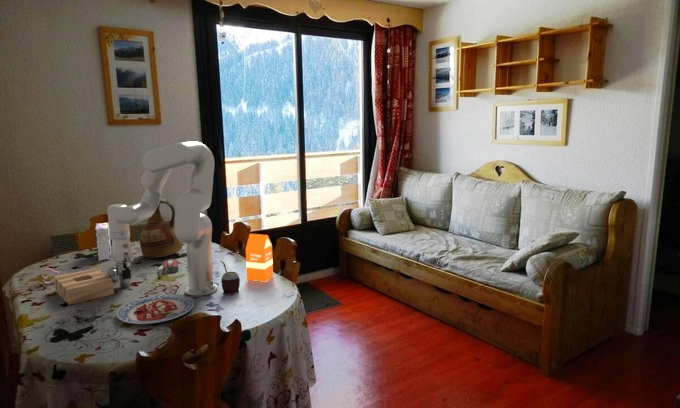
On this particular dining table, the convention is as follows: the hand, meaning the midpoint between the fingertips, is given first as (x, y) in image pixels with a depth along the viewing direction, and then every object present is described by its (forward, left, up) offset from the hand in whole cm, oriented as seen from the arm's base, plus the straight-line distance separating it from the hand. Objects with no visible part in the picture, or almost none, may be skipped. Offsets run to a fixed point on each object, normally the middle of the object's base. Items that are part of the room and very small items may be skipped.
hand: (124, 276), depth 191 cm
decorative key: (+25, +15, -5) cm, 29 cm away
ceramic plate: (-35, +1, -5) cm, 35 cm away
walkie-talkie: (+7, -22, -5) cm, 23 cm away
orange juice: (-31, -46, -5) cm, 56 cm away
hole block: (+5, +14, -5) cm, 16 cm away
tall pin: (0, 0, -5) cm, 5 cm away
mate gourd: (-37, -28, -5) cm, 47 cm away
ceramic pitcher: (+34, -30, -5) cm, 46 cm away
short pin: (+11, +1, -5) cm, 12 cm away
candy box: (+52, -8, -5) cm, 53 cm away
